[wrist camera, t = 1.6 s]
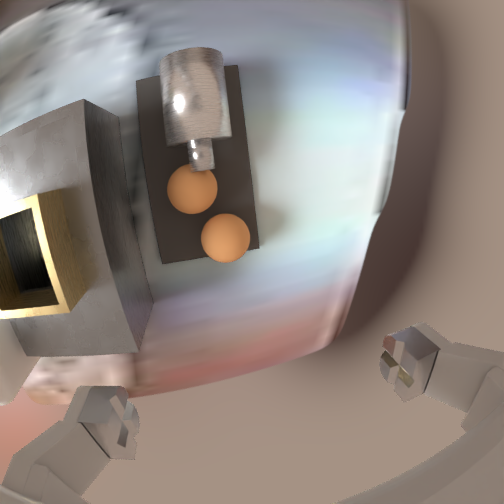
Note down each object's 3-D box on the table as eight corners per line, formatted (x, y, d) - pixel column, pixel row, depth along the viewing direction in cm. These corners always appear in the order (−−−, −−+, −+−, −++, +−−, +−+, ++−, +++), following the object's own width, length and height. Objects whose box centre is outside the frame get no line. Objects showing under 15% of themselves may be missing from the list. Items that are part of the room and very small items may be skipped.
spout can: (163, 74, 20) (154, 54, 15) (220, 66, 20) (224, 44, 15) (174, 174, 22) (166, 176, 18) (232, 165, 23) (239, 165, 18)
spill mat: (137, 82, 20) (136, 80, 19) (236, 66, 21) (237, 65, 20) (163, 262, 25) (162, 264, 25) (258, 246, 26) (259, 248, 26)
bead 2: (197, 213, 24) (196, 223, 20) (243, 206, 24) (250, 214, 21) (205, 257, 25) (205, 273, 21) (248, 250, 26) (256, 265, 22)
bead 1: (167, 167, 22) (159, 169, 19) (213, 160, 23) (214, 160, 19) (174, 212, 24) (168, 222, 20) (219, 205, 24) (221, 214, 20)
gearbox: (18, 153, 19) (-54, 157, 9) (118, 117, 20) (63, 88, 10) (58, 314, 25) (13, 376, 14) (153, 303, 26) (132, 378, 16)
